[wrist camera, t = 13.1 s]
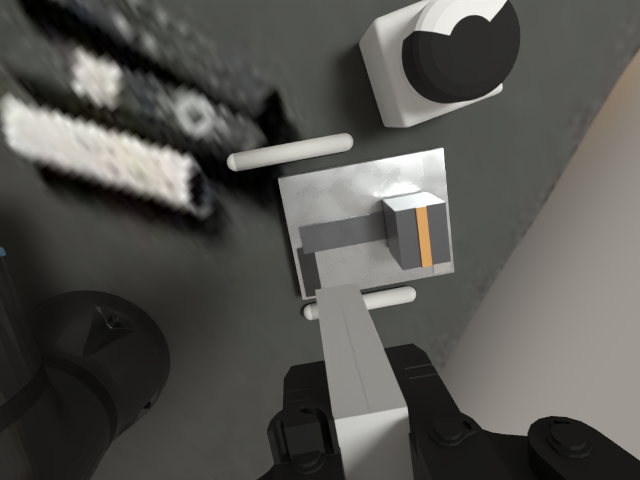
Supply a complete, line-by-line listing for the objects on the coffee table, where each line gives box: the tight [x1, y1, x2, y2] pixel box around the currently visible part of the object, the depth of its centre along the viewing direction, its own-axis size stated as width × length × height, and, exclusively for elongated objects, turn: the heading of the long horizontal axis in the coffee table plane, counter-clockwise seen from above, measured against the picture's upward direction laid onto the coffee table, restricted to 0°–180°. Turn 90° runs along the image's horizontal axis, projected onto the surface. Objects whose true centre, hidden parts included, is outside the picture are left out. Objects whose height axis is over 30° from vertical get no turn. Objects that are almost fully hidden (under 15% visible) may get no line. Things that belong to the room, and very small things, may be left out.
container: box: [359, 0, 520, 127], centre depth 29 cm, size 8×8×13 cm
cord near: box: [227, 133, 353, 171], centre depth 36 cm, size 12×2×2 cm, turn 100°
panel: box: [278, 147, 454, 300], centre depth 38 cm, size 15×12×2 cm
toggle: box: [383, 192, 451, 270], centre depth 34 cm, size 4×5×5 cm
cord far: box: [304, 286, 416, 320], centre depth 41 cm, size 12×2×2 cm, turn 100°
